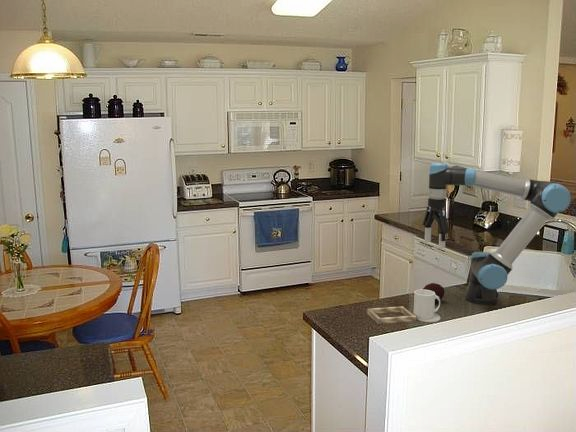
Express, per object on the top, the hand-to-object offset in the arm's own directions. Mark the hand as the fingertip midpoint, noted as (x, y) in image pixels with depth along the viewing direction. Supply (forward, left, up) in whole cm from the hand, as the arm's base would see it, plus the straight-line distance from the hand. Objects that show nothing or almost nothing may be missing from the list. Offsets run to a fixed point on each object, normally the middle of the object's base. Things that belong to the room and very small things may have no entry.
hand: (434, 245), depth 246 cm
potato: (-3, -5, -29) cm, 29 cm away
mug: (+9, +14, -28) cm, 33 cm away
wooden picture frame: (+24, +10, -29) cm, 39 cm away
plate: (+9, +14, -29) cm, 33 cm away
